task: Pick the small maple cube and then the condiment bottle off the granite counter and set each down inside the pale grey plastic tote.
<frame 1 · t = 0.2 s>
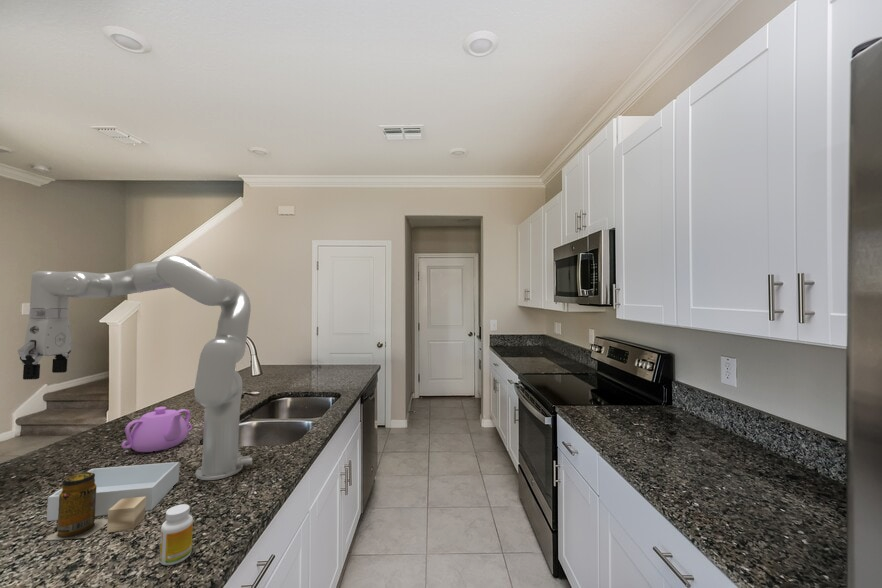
hand: (45, 375, 101), 31 cm above the worktop, tool pointing down, fingers open, 9 cm apart
tote: (119, 499, 95), on the worktop
condiment: (79, 530, 82), on the worktop
cube: (126, 524, 84), on the worktop
teapot: (162, 447, 129), on the worktop
supplement bottle: (175, 557, 74), on the worktop
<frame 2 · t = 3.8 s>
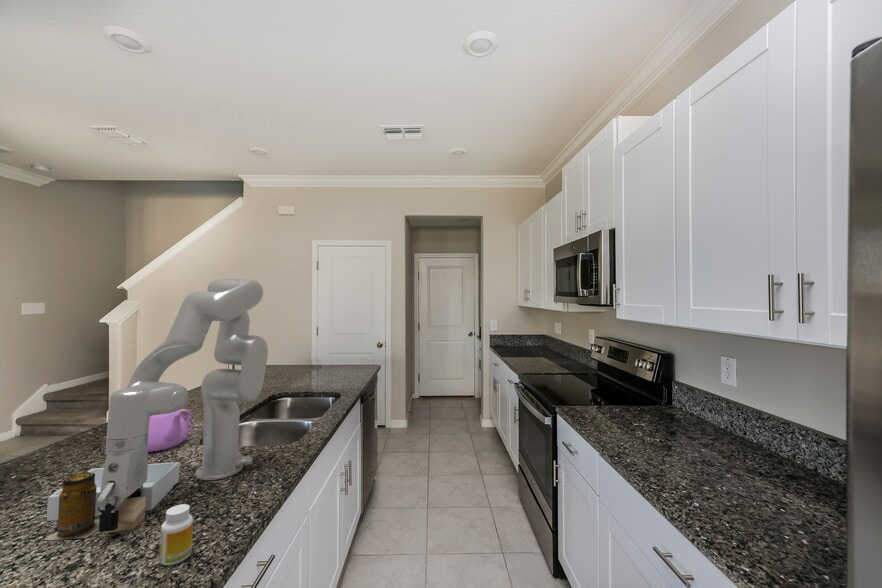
hand: (120, 518, 83), 2 cm above the worktop, tool pointing down, fingers open, 8 cm apart
nothing on the worktop moved.
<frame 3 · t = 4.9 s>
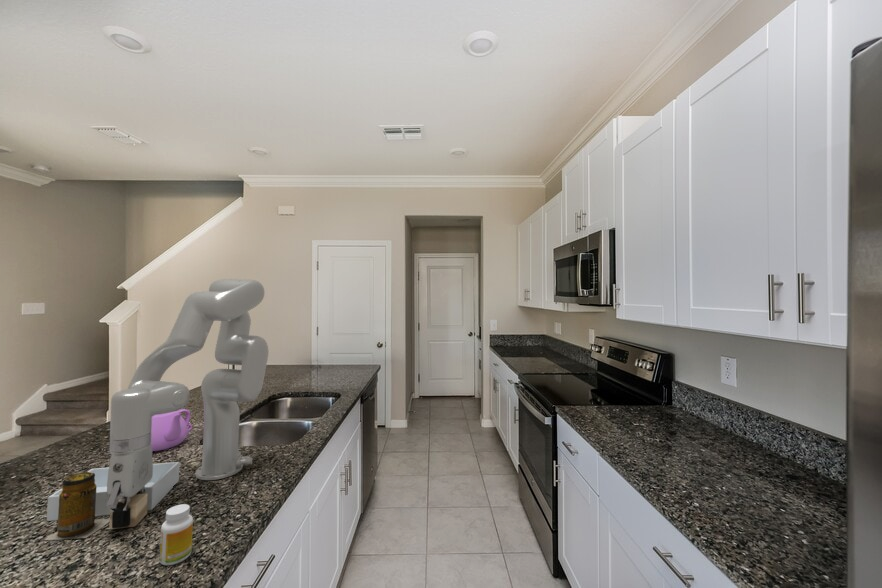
hand: (128, 518, 85), 1 cm above the worktop, tool pointing down, fingers closed on cube, 4 cm apart
cube: (128, 521, 85), on the worktop, touching gripper
everything else where it was.
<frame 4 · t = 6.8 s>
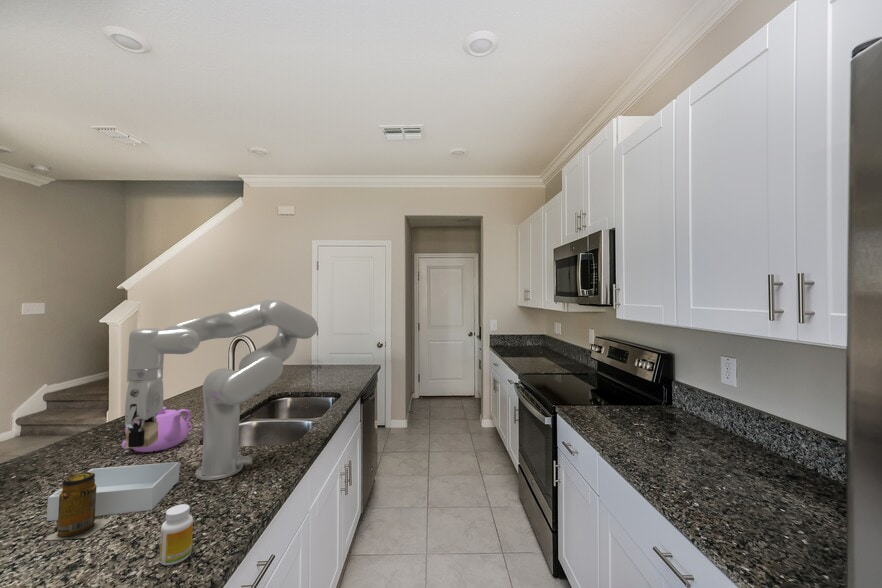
hand: (142, 441, 97), 15 cm above the worktop, tool pointing down, fingers closed on cube, 5 cm apart
cube: (142, 443, 97), point 14 cm above the worktop, touching gripper
everything else where it was.
when the fingers open (3 cm above the worktop, at t = 9.2 s): cube drops 2 cm, resting on tote.
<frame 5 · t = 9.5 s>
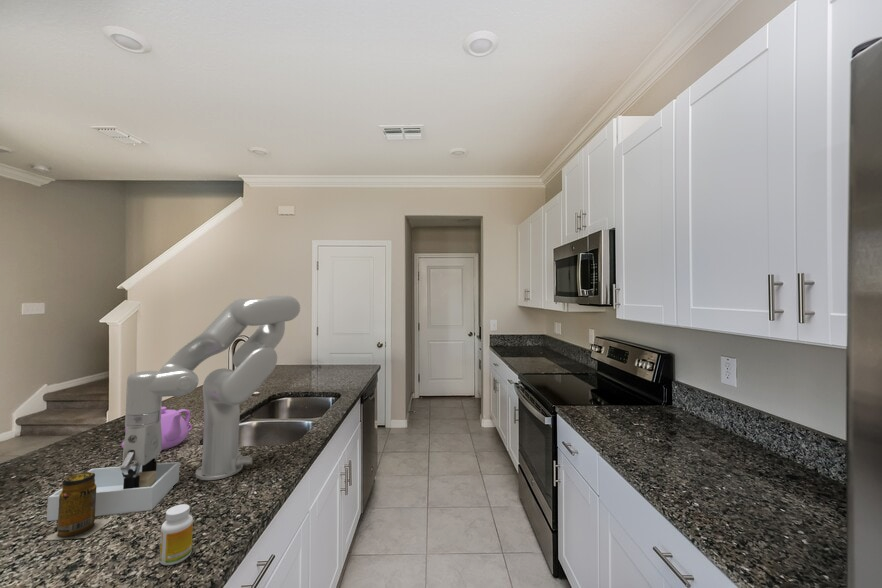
hand: (140, 483, 96), 4 cm above the worktop, tool pointing down, fingers open, 8 cm apart
cube: (140, 494, 96), point 1 cm above the worktop, touching tote
everything else where it was.
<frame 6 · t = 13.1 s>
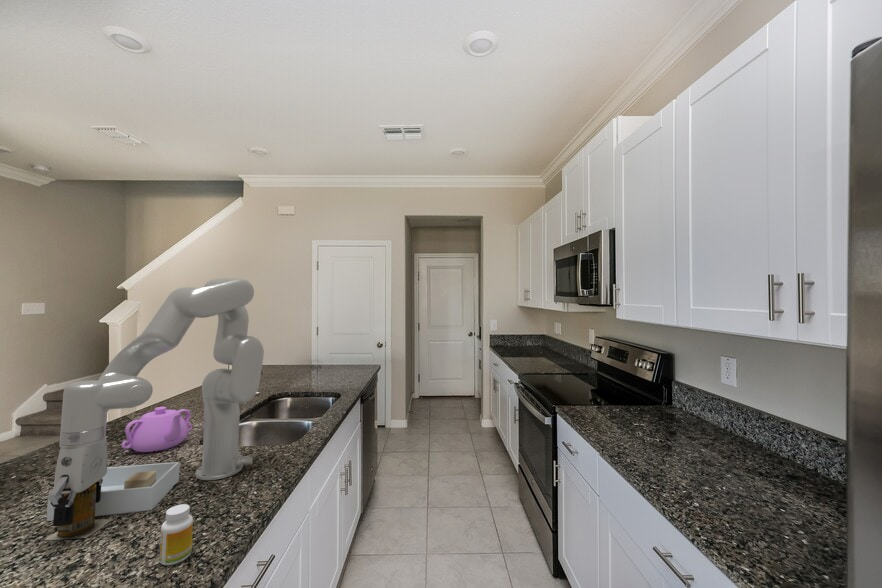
hand: (78, 512, 82), 4 cm above the worktop, tool pointing down, fingers open, 8 cm apart
nothing on the worktop moved.
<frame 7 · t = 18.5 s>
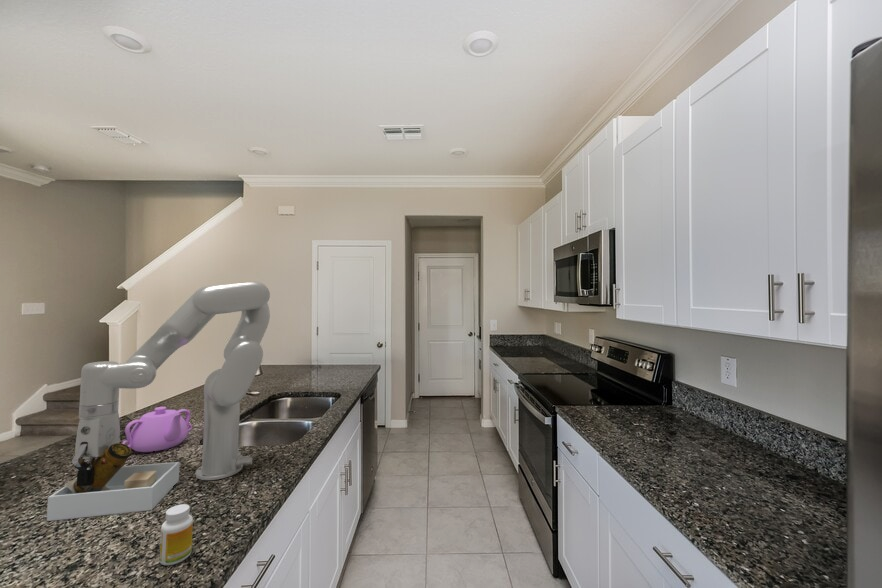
hand: (95, 477, 94), 6 cm above the worktop, tool pointing down, fingers open, 7 cm apart
condiment: (88, 490, 93), point 3 cm above the worktop, touching gripper
everything else where it was.
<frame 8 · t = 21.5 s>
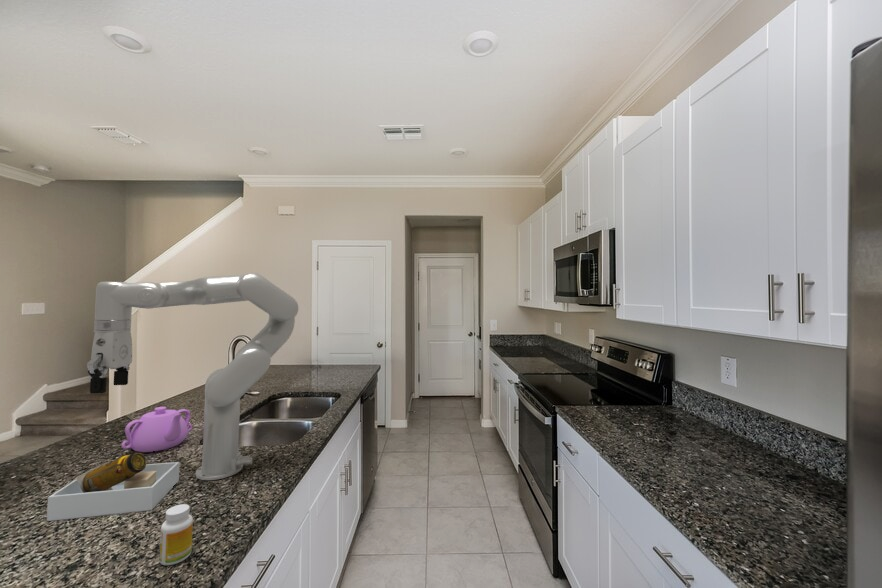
hand: (109, 388, 98), 28 cm above the worktop, tool pointing down, fingers open, 9 cm apart
condiment: (94, 486, 93), point 4 cm above the worktop, touching cube, tote
cube: (140, 494, 96), point 1 cm above the worktop, touching condiment, tote
everything else where it was.
at the end: cube inside the target area on the tote (4.6 cm from its centre), point 0.6 cm above the tote's base; condiment inside the target area on the tote (5.3 cm from its centre), point 4.3 cm above the tote's base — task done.
